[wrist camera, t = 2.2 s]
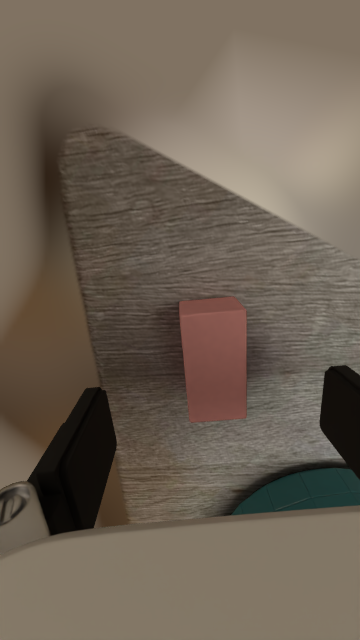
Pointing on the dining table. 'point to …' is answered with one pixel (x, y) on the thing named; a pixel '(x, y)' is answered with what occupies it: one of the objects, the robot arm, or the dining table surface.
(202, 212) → the dining table surface
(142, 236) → the dining table surface
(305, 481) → the bowl
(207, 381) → the eraser
